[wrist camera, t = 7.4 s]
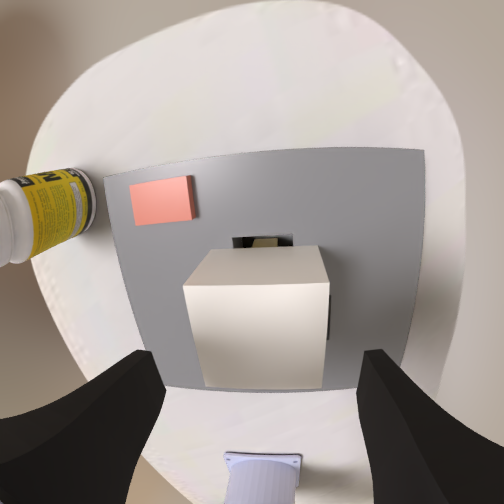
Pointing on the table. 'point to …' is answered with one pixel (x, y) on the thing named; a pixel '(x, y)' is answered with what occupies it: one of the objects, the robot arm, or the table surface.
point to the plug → (260, 316)
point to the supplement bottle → (43, 212)
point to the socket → (276, 223)
